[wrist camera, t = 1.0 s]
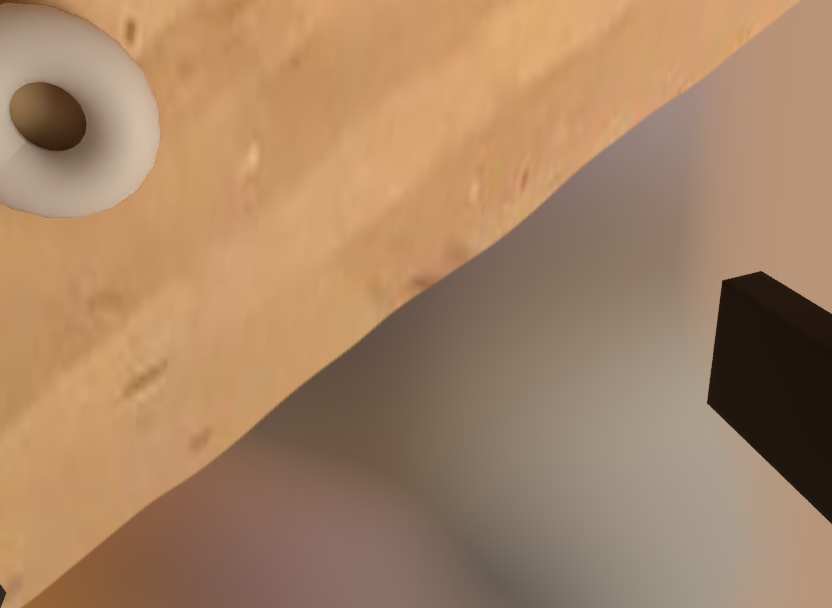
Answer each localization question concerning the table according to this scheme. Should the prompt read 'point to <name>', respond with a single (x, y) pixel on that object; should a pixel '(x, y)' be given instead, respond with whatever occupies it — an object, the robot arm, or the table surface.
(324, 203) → the table surface
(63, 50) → the donut
